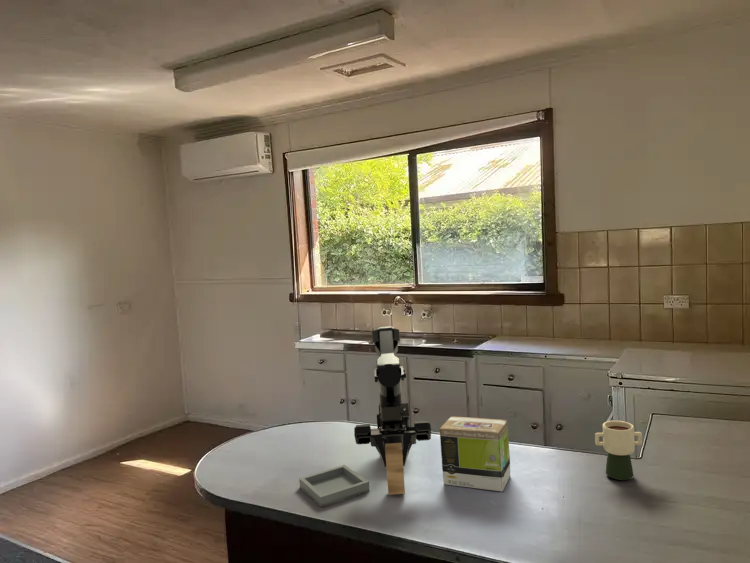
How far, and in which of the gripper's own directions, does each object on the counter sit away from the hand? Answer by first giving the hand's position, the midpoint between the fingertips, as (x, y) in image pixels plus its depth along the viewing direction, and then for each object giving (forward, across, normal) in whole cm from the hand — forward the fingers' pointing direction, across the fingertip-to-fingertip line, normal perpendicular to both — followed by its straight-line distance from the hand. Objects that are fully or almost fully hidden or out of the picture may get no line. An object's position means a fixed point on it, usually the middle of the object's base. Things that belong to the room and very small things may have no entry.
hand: (394, 466), depth 138 cm
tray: (+1, -16, +10) cm, 18 cm away
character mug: (+3, +54, +8) cm, 55 cm away
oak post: (+4, 0, +6) cm, 7 cm away
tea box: (+1, +20, +10) cm, 23 cm away
